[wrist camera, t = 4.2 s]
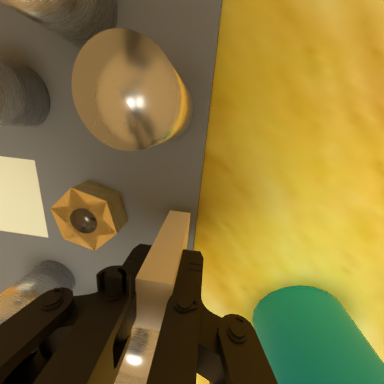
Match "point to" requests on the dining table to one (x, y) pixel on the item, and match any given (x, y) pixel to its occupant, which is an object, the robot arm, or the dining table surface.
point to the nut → (90, 214)
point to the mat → (100, 144)
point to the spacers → (97, 120)
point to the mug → (314, 339)
